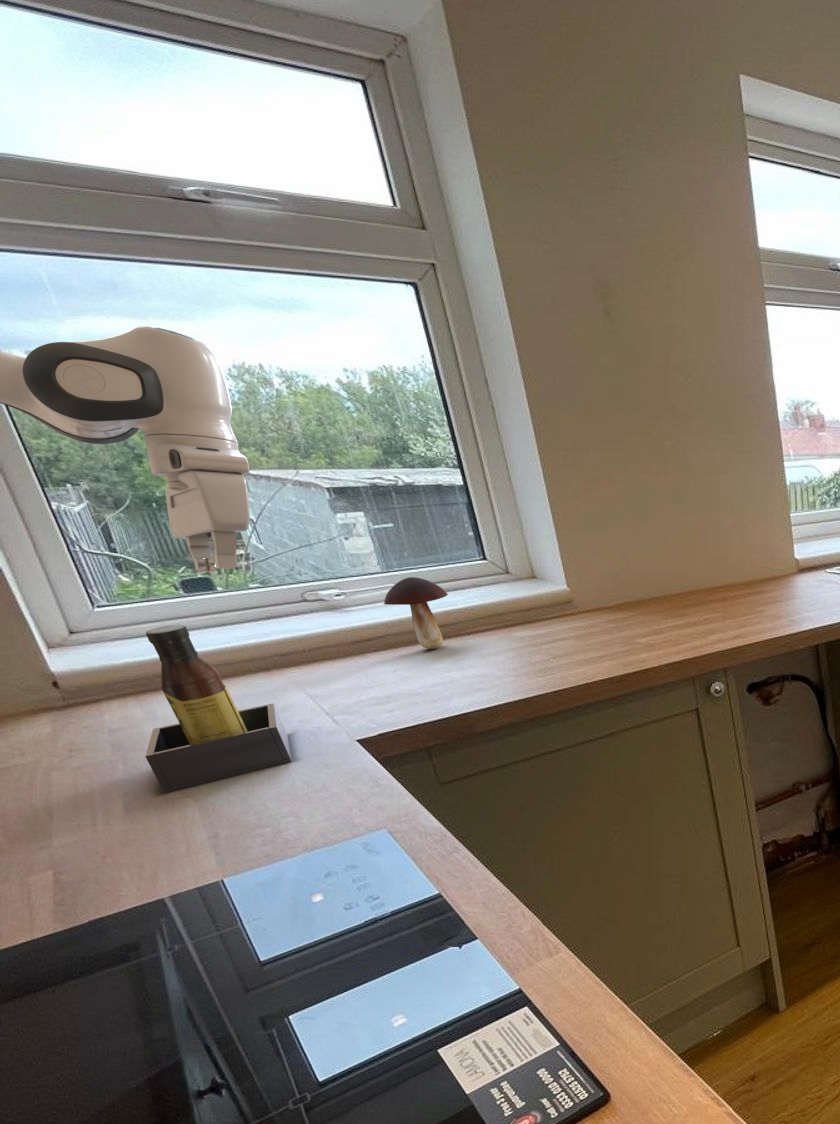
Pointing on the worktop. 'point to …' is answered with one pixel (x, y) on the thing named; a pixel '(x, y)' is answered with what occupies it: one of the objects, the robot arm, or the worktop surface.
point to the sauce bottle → (194, 687)
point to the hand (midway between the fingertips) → (216, 570)
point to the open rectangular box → (218, 751)
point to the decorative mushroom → (419, 607)
